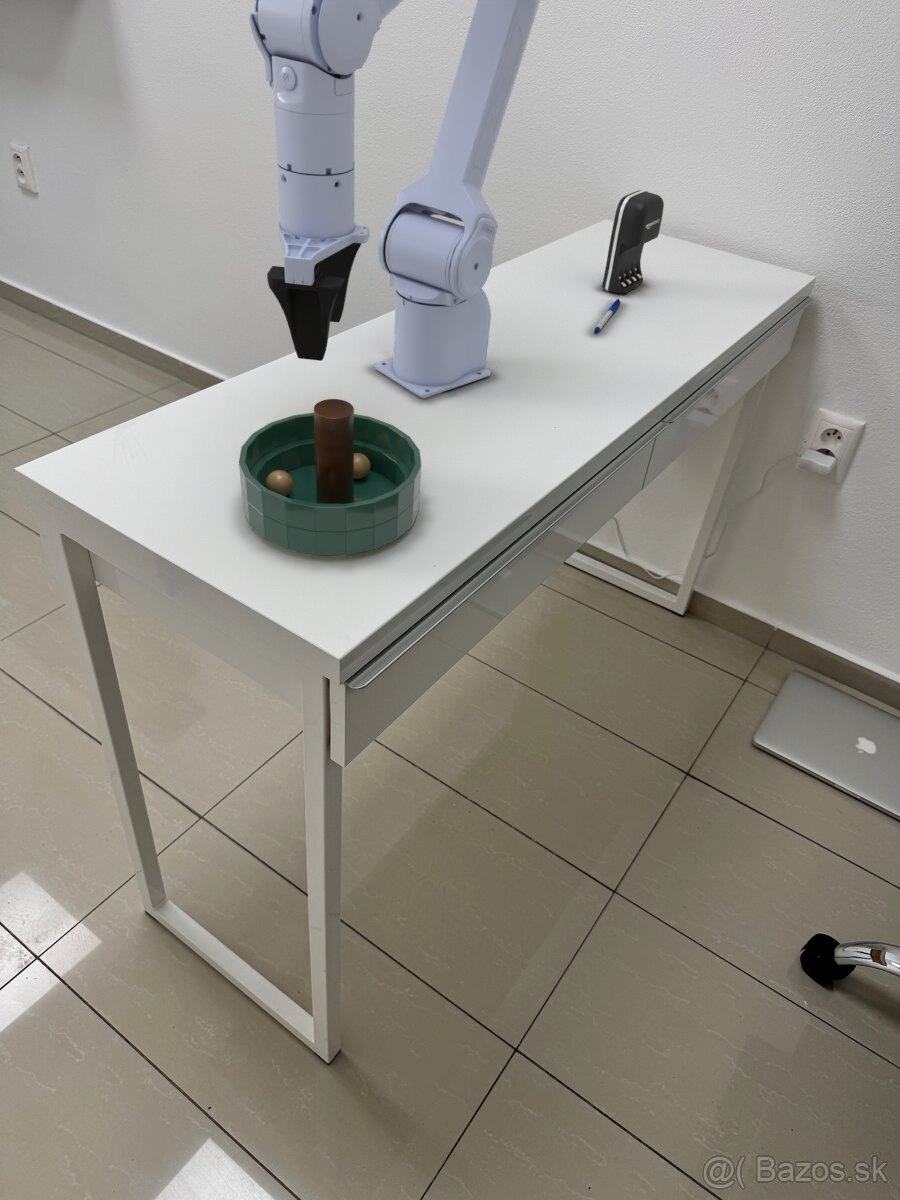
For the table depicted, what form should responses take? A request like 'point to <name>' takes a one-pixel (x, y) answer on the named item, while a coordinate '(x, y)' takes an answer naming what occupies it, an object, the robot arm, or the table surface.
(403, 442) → the bowl
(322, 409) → the brown wooden cylinder
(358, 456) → the bead
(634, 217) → the battery charger
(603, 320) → the ballpoint pen
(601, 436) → the table surface
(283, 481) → the bead
